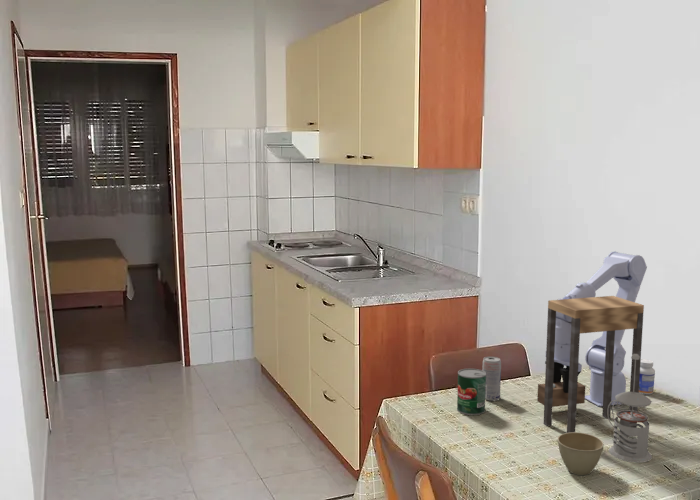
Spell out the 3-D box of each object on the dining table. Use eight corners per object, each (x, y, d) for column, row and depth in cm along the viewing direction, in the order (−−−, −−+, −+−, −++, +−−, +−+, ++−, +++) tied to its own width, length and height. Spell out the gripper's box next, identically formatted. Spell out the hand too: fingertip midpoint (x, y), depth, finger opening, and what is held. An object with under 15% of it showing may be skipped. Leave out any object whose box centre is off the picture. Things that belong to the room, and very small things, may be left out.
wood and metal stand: (606, 415, 190) (613, 295, 185) (636, 432, 178) (643, 305, 174) (543, 424, 184) (548, 300, 179) (569, 442, 173) (575, 310, 168)
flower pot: (549, 461, 162) (551, 432, 161) (590, 459, 163) (592, 431, 162) (566, 481, 152) (567, 451, 151) (610, 479, 153) (611, 449, 152)
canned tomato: (454, 413, 192) (454, 375, 191) (460, 403, 200) (461, 367, 198) (482, 416, 189) (483, 378, 188) (487, 407, 197) (488, 370, 195)
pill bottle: (632, 388, 212) (634, 358, 210) (650, 389, 211) (652, 358, 209) (637, 394, 206) (638, 363, 205) (655, 395, 206) (657, 364, 204)
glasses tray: (574, 397, 197) (574, 378, 196) (584, 403, 193) (585, 384, 192) (537, 401, 194) (538, 382, 193) (547, 407, 189) (548, 388, 188)
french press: (632, 465, 160) (638, 362, 156) (593, 447, 170) (598, 349, 166) (661, 457, 164) (667, 356, 161) (621, 439, 174) (627, 344, 171)
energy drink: (499, 395, 206) (500, 356, 205) (501, 401, 201) (502, 361, 199) (481, 394, 207) (481, 356, 205) (482, 400, 202) (483, 361, 200)
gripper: (537, 336, 197) (535, 382, 198) (566, 350, 183) (564, 399, 185) (558, 334, 198) (556, 379, 200) (589, 348, 185) (586, 396, 187)
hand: (561, 389), depth 193 cm, fingers closed on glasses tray, 5 cm apart
